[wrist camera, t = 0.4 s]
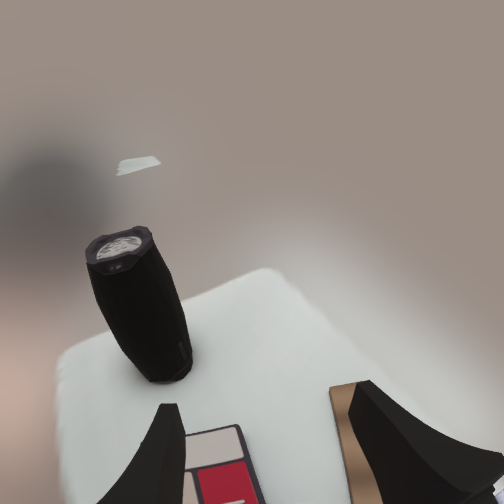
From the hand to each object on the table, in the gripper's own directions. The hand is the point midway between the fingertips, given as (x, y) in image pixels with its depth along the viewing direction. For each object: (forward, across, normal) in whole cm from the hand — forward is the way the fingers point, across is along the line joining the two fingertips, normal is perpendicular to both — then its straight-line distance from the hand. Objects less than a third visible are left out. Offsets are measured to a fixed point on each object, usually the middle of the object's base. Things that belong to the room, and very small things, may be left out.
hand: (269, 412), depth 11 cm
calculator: (+5, +5, +22) cm, 23 cm away
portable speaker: (+25, +10, +19) cm, 33 cm away
